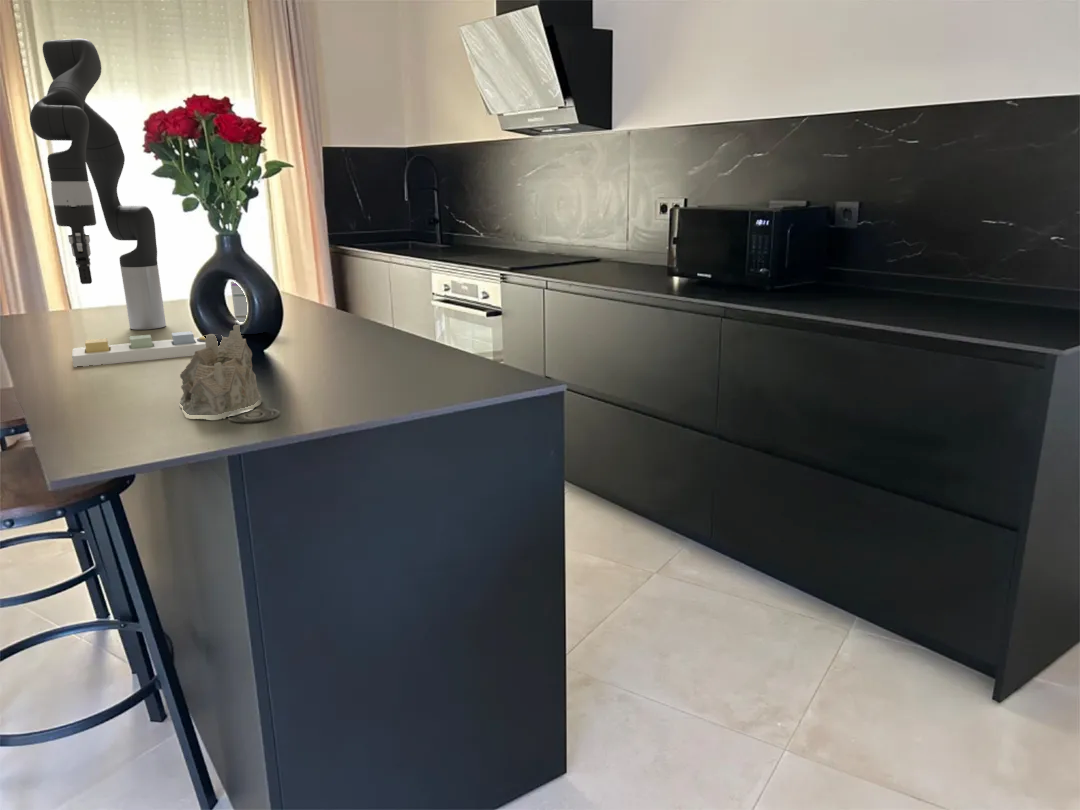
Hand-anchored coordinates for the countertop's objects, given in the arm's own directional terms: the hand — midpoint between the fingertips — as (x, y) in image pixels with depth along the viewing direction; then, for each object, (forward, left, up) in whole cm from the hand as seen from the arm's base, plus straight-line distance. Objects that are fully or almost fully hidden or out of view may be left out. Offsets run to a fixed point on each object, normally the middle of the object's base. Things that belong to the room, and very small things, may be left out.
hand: (86, 283), depth 172 cm
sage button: (0, +9, -16) cm, 18 cm away
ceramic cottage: (+54, +19, -18) cm, 60 cm away
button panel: (0, +11, -18) cm, 21 cm away
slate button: (0, +18, -16) cm, 24 cm away
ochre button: (0, 0, -16) cm, 16 cm away
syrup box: (-18, +36, -18) cm, 44 cm away
